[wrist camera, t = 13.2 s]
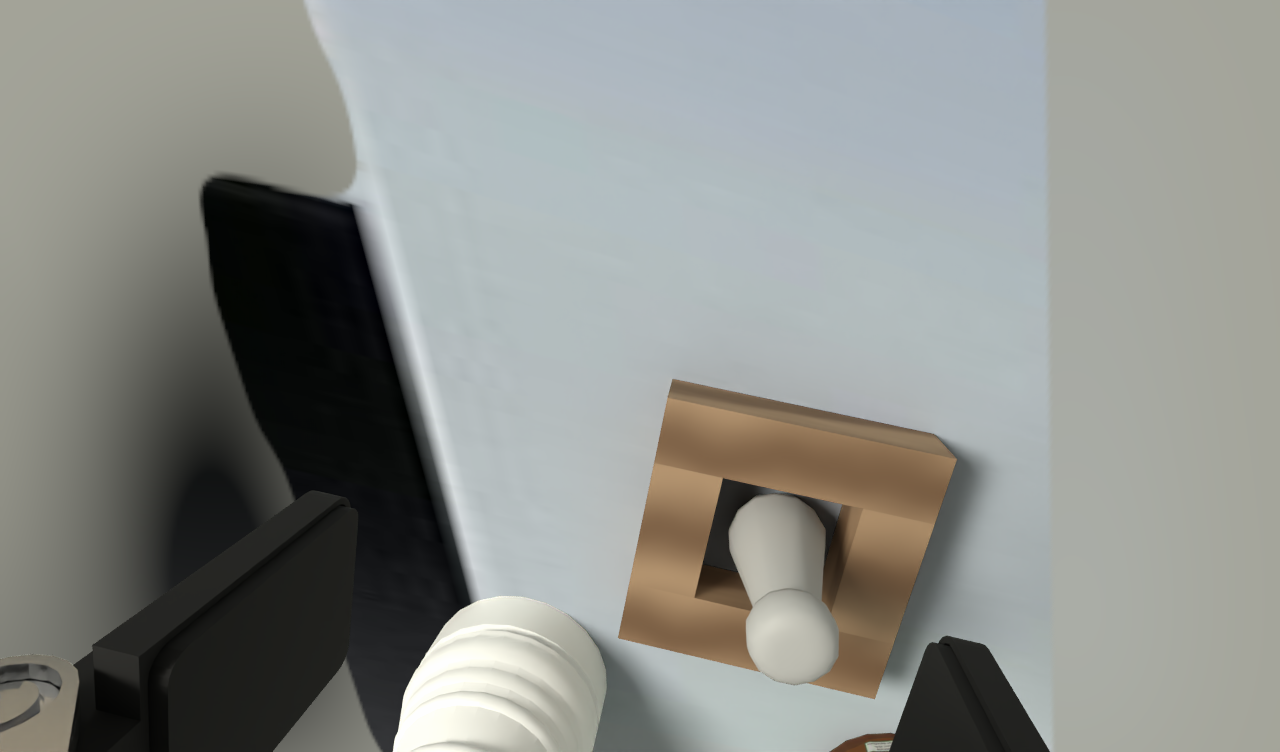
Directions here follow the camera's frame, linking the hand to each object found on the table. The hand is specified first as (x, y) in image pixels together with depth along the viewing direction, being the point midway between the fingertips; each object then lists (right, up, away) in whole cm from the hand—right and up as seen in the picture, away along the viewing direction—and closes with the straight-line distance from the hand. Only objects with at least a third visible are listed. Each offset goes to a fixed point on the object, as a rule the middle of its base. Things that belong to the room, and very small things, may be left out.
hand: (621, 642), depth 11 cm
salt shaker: (+9, -5, +32) cm, 34 cm away
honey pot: (-8, -17, +37) cm, 42 cm away
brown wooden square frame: (+9, -5, +32) cm, 33 cm away
